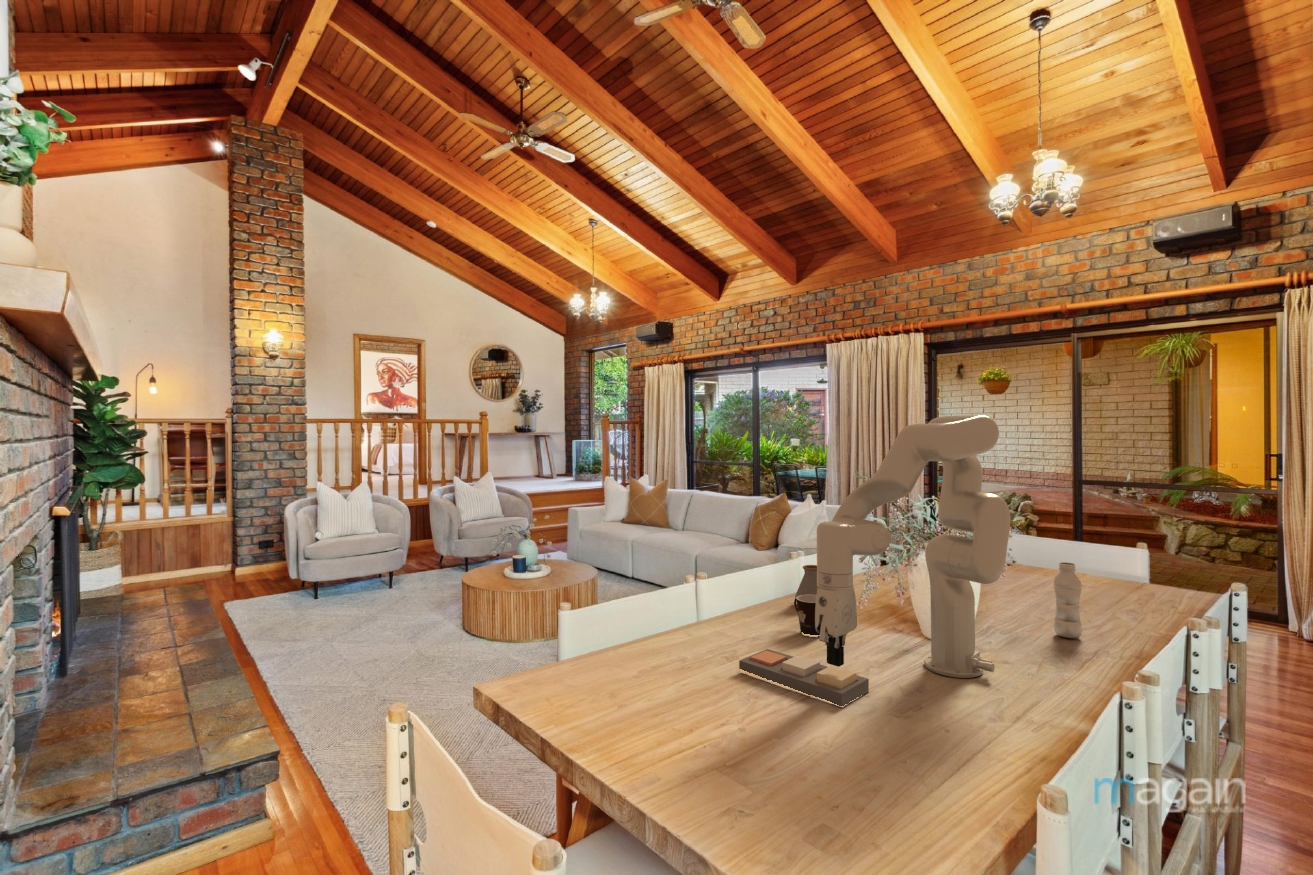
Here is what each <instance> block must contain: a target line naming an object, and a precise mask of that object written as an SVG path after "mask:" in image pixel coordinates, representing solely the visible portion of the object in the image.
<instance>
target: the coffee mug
mask: <svg viewBox="0 0 1313 875" xmlns="http://www.w3.org/2000/svg"><path fill="white" fill-rule="evenodd" d="M816 596H817V595H800V596H797V597H796V598H795V597H794V601H793V607H795V610H796V613H797V615H798V622H799V628H800V630H801V631H800V633H801V632H803V633H804V634H810V635H820V633H818V632H817V631H816V627H815V607H816Z"/></svg>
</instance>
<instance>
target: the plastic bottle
mask: <svg viewBox="0 0 1313 875" xmlns="http://www.w3.org/2000/svg"><path fill="white" fill-rule="evenodd" d="M1058 570H1059V572H1058V574H1057V575H1056V576H1055V577H1054V579H1053V588H1054V593H1055V594H1054V595H1055V603H1056V604H1055V605H1056V606H1055V617H1054V621H1053V629H1054V630H1053V631H1054V632H1055V634H1056V635H1057V636H1060V637H1062V638H1066V639H1079V638H1080V637H1082V633H1083V627H1082V621H1081V614H1080V600H1081V592H1082V586H1083V584H1082V582H1081V580H1080V578H1079V577H1078V575H1077V574H1076V573H1075V572H1076V564H1075V563H1073V562H1069V561H1068V562H1067V561H1065V562H1063V561H1062V562H1059V566H1058Z"/></svg>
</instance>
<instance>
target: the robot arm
mask: <svg viewBox="0 0 1313 875" xmlns="http://www.w3.org/2000/svg"><path fill="white" fill-rule="evenodd" d="M999 436H1000V430H999V426H998V424H997V423H996V422H995V420H994V419H993V418H991V417H990V416H987V415H983V414H969V415H968V414H967V415H964V414H963V415H943V416H938V417H935V418H933V419H930V421H928V423H915V424H914V423H913V424H909V425H906V426H905V427H903V428H902V429H901V430H900V431H899V433H898V434H897V436H896V438H895V439H894V441H893V443H892V444H891V446H890V448H889V450H888V452H887V454H886V455H885V457H884V459H883V460H882V462H881V463H880V465H879V467H878V469H877V471H876V472H875V473H874V474H873V475H872V476H871V477H870V478H868V479H867V480H865V481H863V483H861V484H860V485H859V486H858V487H856V488H855V489H854V490H853V491H852V492H850V493H849V495H847V496H846V498H845V499H844V500H843V501H842V502H841V504H840V506H838V509H837V511H836V512H835V515H834V516H833V518H832V520H831V521H822V522H820V523H819V524H818V525H817V527H816V565H817V586H818V588H817V596H816V607H815V627H816V631H817V632H818V633H820V636H819V639H818V640H819V642H823V643H824V644H825V646H826V663H827V664H829V665H830V666H835V667H838V668H841V666H843V665H844V664H845V649H844V648H845V645H846V637H847V635H848V634H849V633H851V632H853V631H854V630H856V629H857V626H858V612H857V610H858V609H857V601H856V598H857V597H856V591H855V588H854V556H867V557H868V556H869V557H873V556H874V557H875V556H879V555H881V554H882V553H884V552H885V551H887V549H888V548H889V546H890V543H891V534H890V531H889V530H888V528H887V527H886V526H885V525H883V523H880V522H877V521H874V520H869V519H867V517H869V515H870V514H871V513H872V512H873V511H875V510H876V509H877V508H879V507H881V506H883V505H885V504H889V503H891V502H894V501H898V500H900V499H902V498H905V497H907V496H908V495H909V494H911V493H912V491H913V490H914V487H915V485H916V484H917V482H918V480H919V478H920V476H921V475H922V473H923V471H924V469H925V467H926V466H927V464H928V463H929V462H941V465H942V483H941V489H940V495H939V503H938V514H937V515H938V520H939V522H940V524H941V525H943V526H944V527H945V528H948V529H951V530H955V531H960V532H965V533H971V534H973V535H972V538H968V537H966V536H964V537H963V536H958V535H953V534H939V535H936V536H934V537H932V538H931V539H930V540H929V541H928V543H927V544H926V547H925V550H924V551H925V553H924V558H925V564H926V567H927V572H928V577H929V589H930V590H929V591H930V654H931V655H929V656H927V657H925V658H924V659H923V660H924V661H923V662H924V663H923V664H924V666H925V667H926V669H928V670H929V671H930V672H933V673H935V674H938V675H942V676H946V677H951V678H957V679H972V678H977V677H979V676H982V675H983V673H984V671H986V672H990V673H994V671H995V663H993V660H990V659H984V658H982V657H981V656H980V655H981V654H980V653H981V652H980V651H979V650H976V614H975V613H976V610H975V608H976V607H975V606H976V599H975V593H974V589H973V587H972V583H971V582H973V583H977V584H983V585H991V584H994V583H995V582H997V581H998V580H999V579H1000V577H1001V576H1002V574H1003V572H1004V569H1005V564H1006V558H1007V551H1008V546H1009V545H1008V543H1009V538H1010V529H1011V528H1010V527H1011V510H1010V507H1009V506H1008V503H1007V501H1005V499H1004V498H1003V497H1001V496H1000V495H997V494H994V493H991V492H982V486H983V485H982V484H983V483H982V482H983V467H982V465H981V462H980V460H979V458H978V457H977V455H980V454H984V453H986V452H989V451H990V450H992V449H993V447H995V445H996V444H997V442H998V440H999V438H1000V437H999Z"/></svg>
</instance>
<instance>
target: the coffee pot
mask: <svg viewBox="0 0 1313 875" xmlns="http://www.w3.org/2000/svg"><path fill="white" fill-rule="evenodd" d="M802 569H803V570H804V574H803V576H802V579H801V581H800V584H799V586H798V588H797V591H796V593H795V595H794V599H795V598H796V597H797V596H800V595H817V588H818V586H817V564H805V565H803V566H802Z"/></svg>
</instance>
